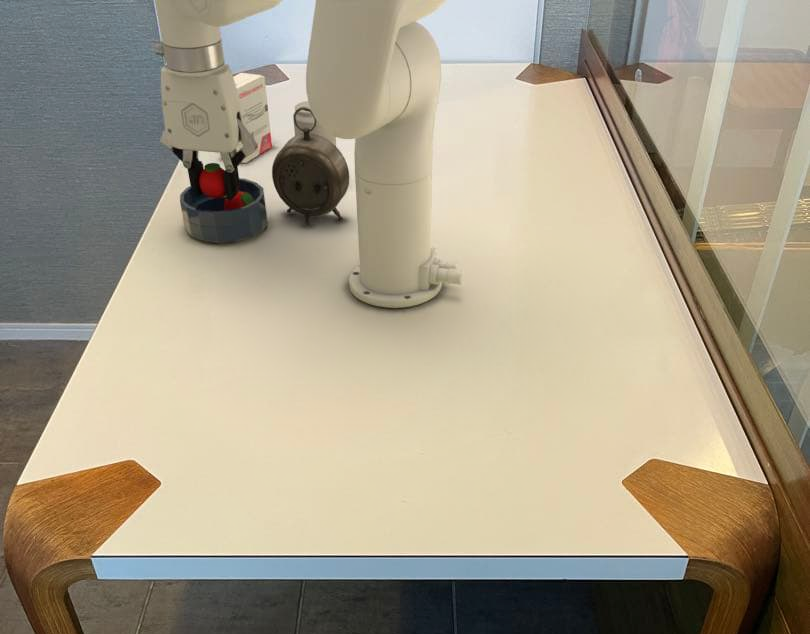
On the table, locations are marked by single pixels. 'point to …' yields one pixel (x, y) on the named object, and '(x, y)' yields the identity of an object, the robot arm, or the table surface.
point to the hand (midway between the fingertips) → (216, 193)
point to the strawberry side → (212, 181)
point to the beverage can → (310, 123)
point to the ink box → (254, 111)
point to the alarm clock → (310, 174)
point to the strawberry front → (238, 201)
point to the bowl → (224, 215)
